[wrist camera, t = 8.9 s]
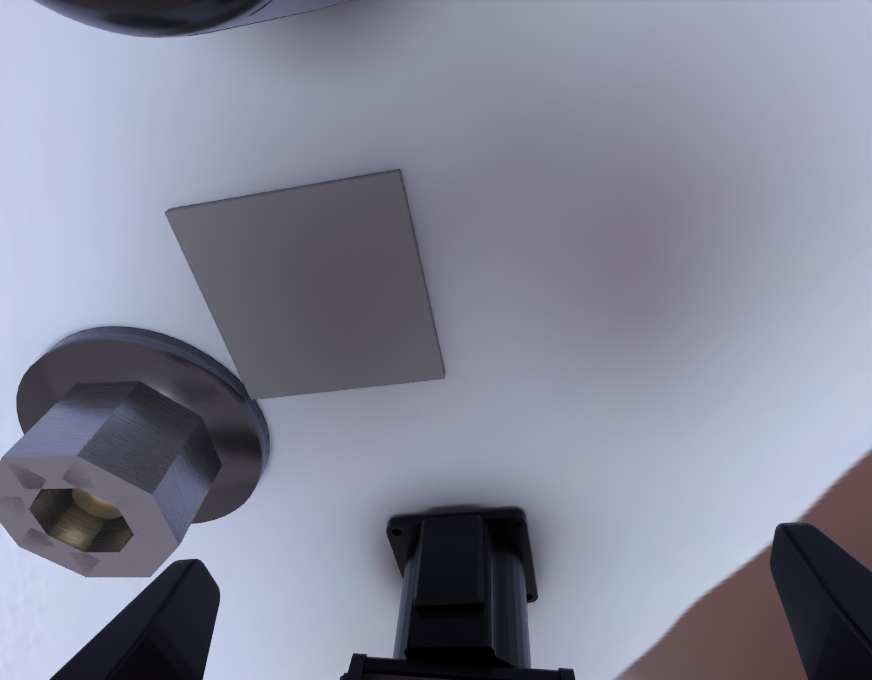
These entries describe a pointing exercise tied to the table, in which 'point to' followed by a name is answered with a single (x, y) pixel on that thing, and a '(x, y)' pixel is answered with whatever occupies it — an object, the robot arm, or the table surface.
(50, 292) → the table surface
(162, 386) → the hub
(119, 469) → the ring
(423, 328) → the stand pad
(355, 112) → the table surface
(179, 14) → the supplement bottle
